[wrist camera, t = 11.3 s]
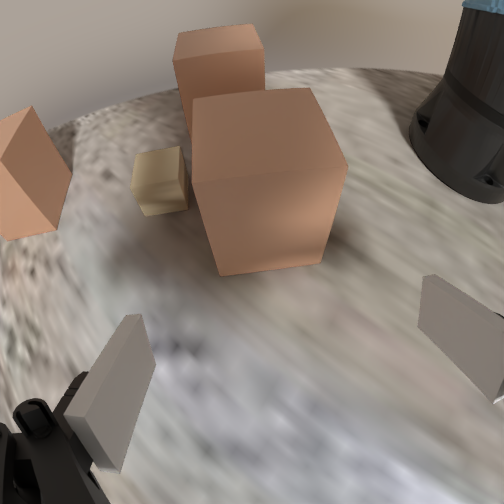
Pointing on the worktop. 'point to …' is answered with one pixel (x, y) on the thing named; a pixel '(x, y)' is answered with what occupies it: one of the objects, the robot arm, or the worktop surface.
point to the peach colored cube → (217, 64)
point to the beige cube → (160, 181)
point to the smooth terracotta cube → (265, 178)
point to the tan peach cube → (29, 177)
